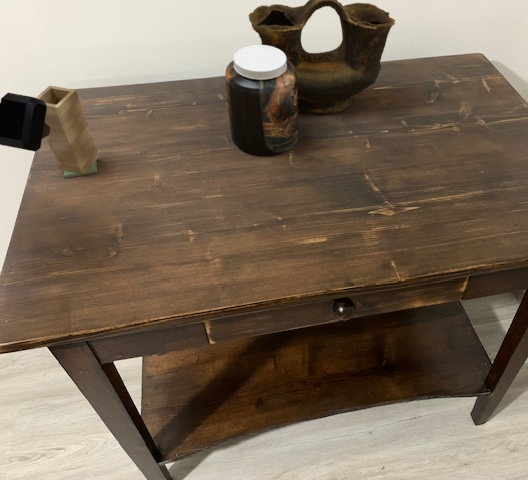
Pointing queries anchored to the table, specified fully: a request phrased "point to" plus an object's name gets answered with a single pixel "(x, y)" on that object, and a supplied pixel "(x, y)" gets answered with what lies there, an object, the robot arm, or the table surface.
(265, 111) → the jar
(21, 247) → the table surface
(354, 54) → the pottery vessel
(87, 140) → the square pencil holder
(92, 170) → the coat peg
